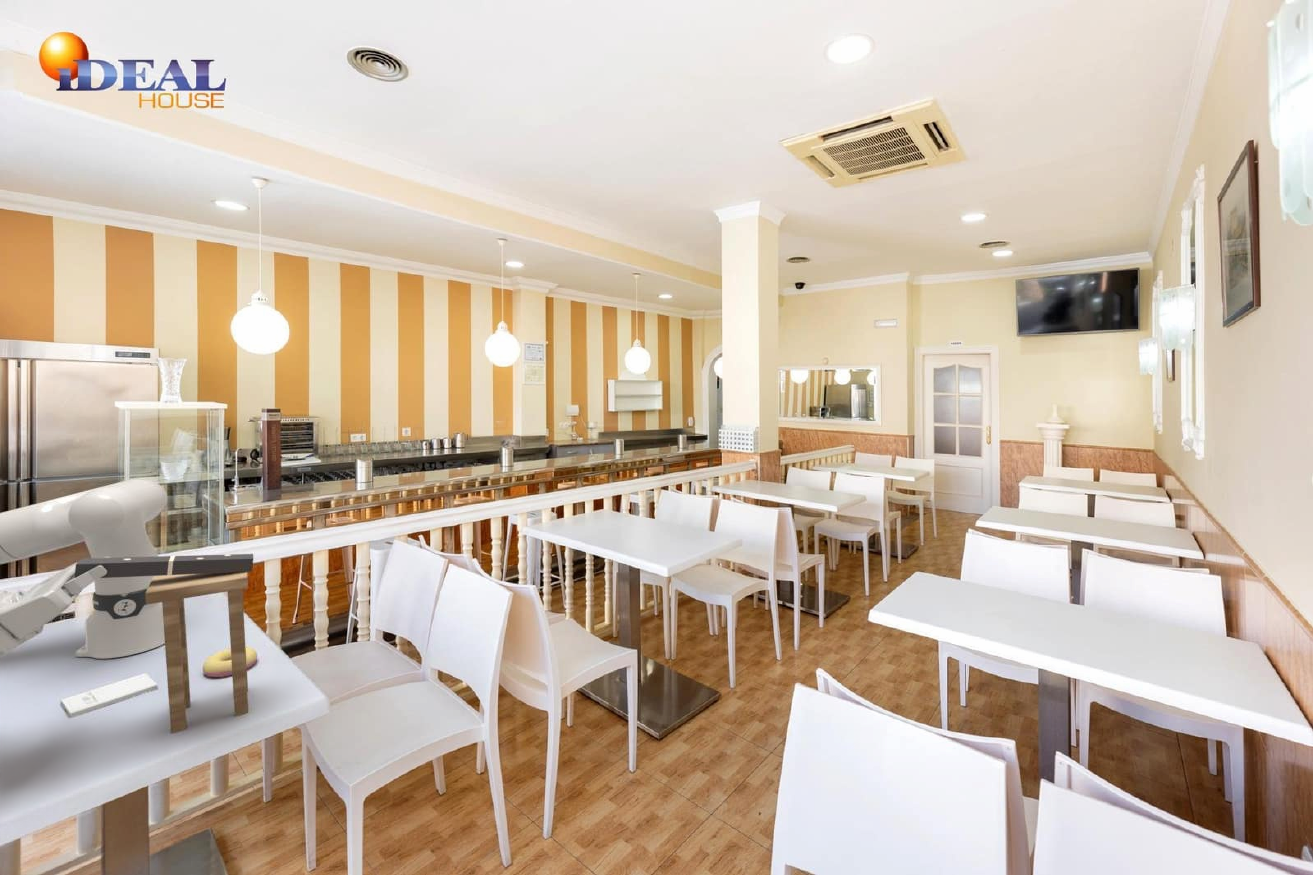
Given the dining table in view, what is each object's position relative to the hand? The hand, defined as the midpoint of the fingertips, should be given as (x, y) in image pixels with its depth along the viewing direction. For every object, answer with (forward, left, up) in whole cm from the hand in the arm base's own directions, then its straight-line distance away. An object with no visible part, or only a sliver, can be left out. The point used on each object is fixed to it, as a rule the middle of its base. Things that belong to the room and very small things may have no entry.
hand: (108, 564), depth 96 cm
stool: (0, +12, -31) cm, 33 cm away
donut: (-18, +15, -31) cm, 39 cm away
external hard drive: (-17, -4, -31) cm, 36 cm away
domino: (0, +8, -3) cm, 9 cm away
